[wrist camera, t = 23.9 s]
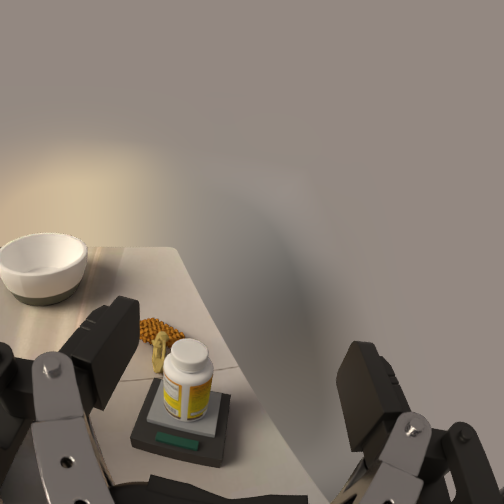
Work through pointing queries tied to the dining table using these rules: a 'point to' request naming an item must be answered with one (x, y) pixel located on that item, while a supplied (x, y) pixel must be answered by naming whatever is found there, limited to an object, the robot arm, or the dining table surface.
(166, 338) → the ornament
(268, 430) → the dining table surface
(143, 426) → the scale
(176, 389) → the supplement bottle
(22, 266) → the bowl
